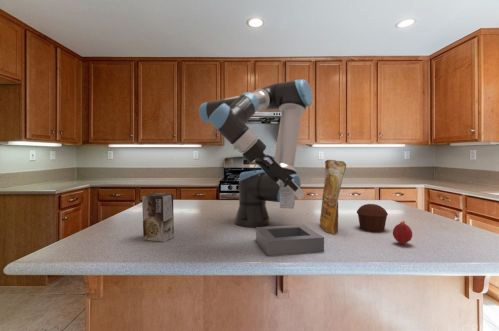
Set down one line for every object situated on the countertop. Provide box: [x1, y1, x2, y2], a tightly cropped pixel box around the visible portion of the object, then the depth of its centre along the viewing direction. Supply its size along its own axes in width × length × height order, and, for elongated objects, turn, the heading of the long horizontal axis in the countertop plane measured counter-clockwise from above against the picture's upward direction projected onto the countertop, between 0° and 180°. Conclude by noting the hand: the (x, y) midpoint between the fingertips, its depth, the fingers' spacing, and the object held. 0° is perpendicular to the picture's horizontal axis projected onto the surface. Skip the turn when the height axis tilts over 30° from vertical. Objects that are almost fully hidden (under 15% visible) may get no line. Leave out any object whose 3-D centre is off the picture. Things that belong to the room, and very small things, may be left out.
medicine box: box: [279, 179, 296, 210], centre depth 91 cm, size 8×4×9 cm, turn 168°
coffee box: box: [141, 192, 175, 243], centre depth 100 cm, size 9×6×16 cm
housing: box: [255, 224, 325, 257], centre depth 92 cm, size 16×18×4 cm
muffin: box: [356, 203, 389, 233], centre depth 112 cm, size 12×11×10 cm
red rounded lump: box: [392, 220, 413, 245], centre depth 93 cm, size 6×6×8 cm
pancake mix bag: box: [319, 159, 347, 235], centre depth 112 cm, size 7×19×28 cm, turn 179°
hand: (296, 194), depth 92 cm, fingers closed on medicine box, 9 cm apart
